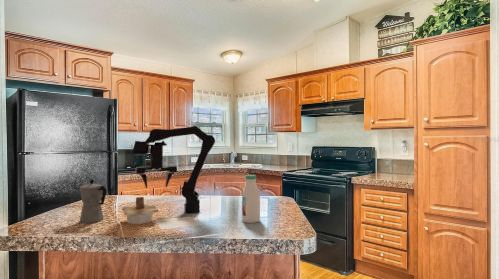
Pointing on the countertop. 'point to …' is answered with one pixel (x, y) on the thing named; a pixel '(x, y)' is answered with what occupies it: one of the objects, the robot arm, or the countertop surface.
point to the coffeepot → (92, 202)
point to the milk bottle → (251, 201)
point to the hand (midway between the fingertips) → (156, 187)
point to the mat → (177, 222)
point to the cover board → (141, 211)
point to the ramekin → (139, 218)
